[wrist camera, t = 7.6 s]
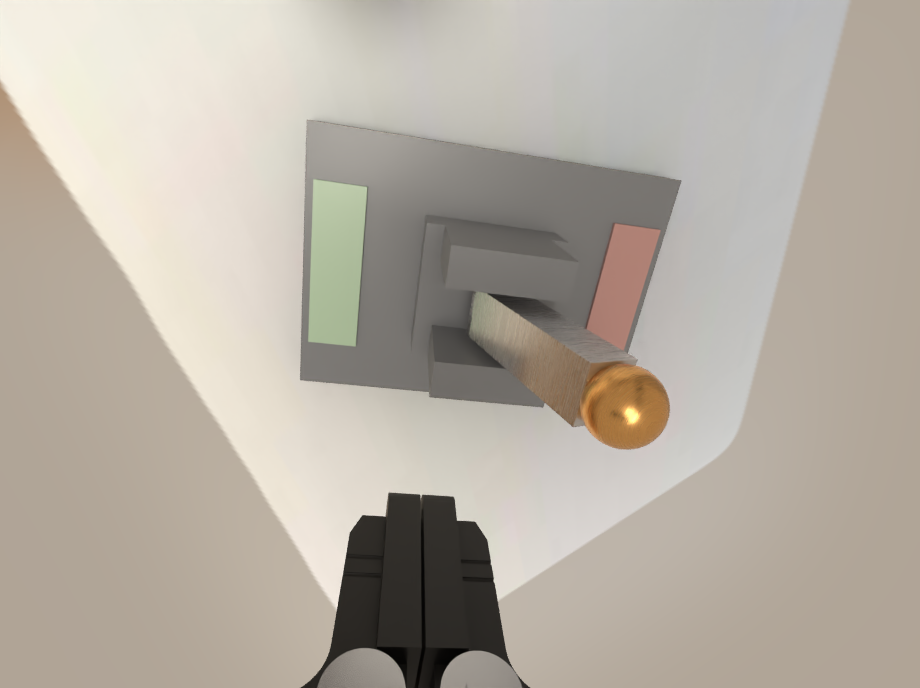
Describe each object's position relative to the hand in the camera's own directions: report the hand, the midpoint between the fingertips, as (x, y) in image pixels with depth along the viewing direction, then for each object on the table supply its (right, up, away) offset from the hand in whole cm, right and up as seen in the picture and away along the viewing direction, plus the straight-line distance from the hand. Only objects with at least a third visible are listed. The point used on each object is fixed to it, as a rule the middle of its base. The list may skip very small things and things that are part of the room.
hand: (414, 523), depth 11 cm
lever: (+2, +6, +16) cm, 17 cm away
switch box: (+2, +9, +21) cm, 23 cm away
